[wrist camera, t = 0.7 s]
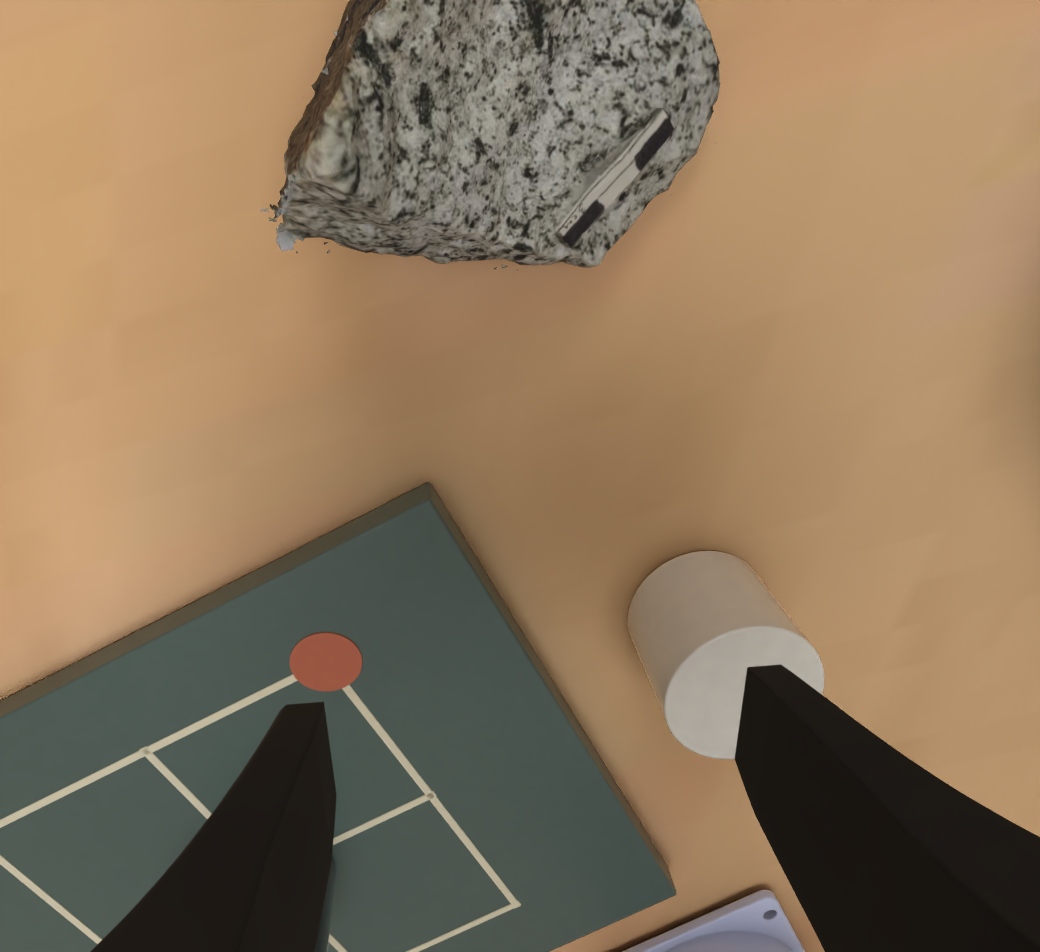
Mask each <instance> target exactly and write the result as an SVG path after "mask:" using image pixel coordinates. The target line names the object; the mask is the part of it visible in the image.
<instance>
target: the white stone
mask: <svg viewBox="0 0 1040 952" xmlns="http://www.w3.org/2000/svg"><path fill="white" fill-rule="evenodd" d="M628 630H629V634H630V637H631V640H632V642H633V644H634V647H635V649H636V652H637V654H638V656H639V659H640V661H641V663H642V666H643V668H644V671H645V673H646V675H647V678H648V680H649V682H650V685H651V687H652V690H653V692H654V694H655V697H656V699H657V702H658V704H659V706H660V709H661V711H662V713H663V716H664V718H665V721H666V723H667V725H668V727H669V730H670V731H671V733H672V734H673V736H674V737H675V738H676V739H677V740H678V741H679V742H680V743H681V744H682V745H684V746H685V747H686V748H688V749H689V750H691V751H693V752H695V753H697V754H700V755H702V756H706V757H710V758H716V759H735V752H736V745H737V738H738V730H739V723H740V716H741V709H742V702H743V695H744V688H745V680H746V673H747V667H755V666H768V665H780V664H781V665H783V666H784V667H785V668H787V669H788V670H790V671H791V672H792V673H794V674H795V675H797V676H798V677H799V678H801V679H802V680H803V681H805V682H806V683H807V684H808V685H810V686H811V687H812V688H814V689H815V690H816V691H818V692H819V693H820V694H821V695H822V693H823V688H824V669H823V665H822V661H821V658H820V657H819V655H818V653H817V651H816V650H815V648H814V647H813V646H812V644H811V643H810V642H809V640H808V639H807V638H806V637H805V635H804V634H803V633H802V631H801V630H800V629H799V627H798V626H797V625H796V624H795V622H794V621H793V620H792V618H791V617H790V616H789V615H788V613H787V612H786V611H785V609H784V608H783V607H782V605H781V604H780V603H779V602H778V600H777V599H776V598H775V596H774V595H773V594H772V592H771V591H770V590H769V589H768V587H767V586H766V585H765V583H764V582H763V581H762V579H761V578H760V577H759V576H758V574H757V573H756V572H755V570H754V569H753V568H752V567H751V566H750V565H749V564H747V563H746V562H745V561H743V560H742V559H740V558H738V557H736V556H733V555H730V554H727V553H723V552H718V551H697V552H692V553H687V554H684V555H681V556H678V557H676V558H673V559H671V560H669V561H667V562H666V563H664V564H662V565H661V566H659V567H658V568H656V569H655V570H654V571H653V572H652V573H651V574H649V575H648V576H647V578H646V579H645V580H644V581H643V582H642V583H641V585H640V586H639V588H638V589H637V591H636V593H635V595H634V596H633V599H632V602H631V604H630V608H629V613H628Z"/></svg>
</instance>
